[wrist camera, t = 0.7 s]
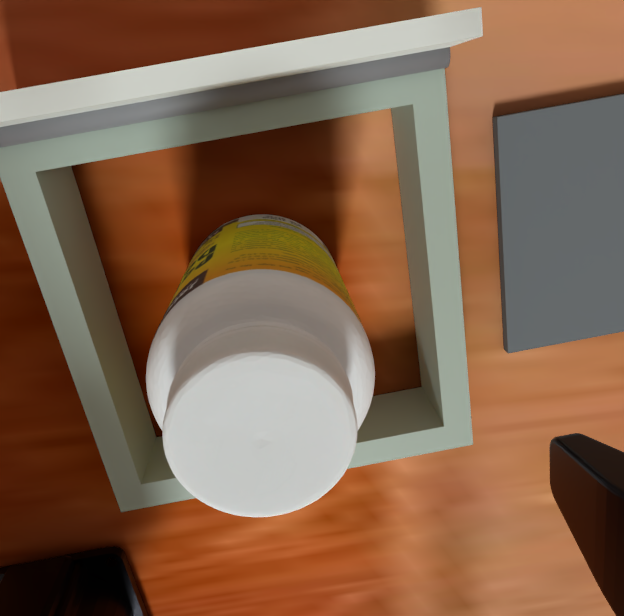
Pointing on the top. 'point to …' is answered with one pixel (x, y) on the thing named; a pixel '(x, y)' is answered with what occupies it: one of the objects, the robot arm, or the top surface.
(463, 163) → the top surface
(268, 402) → the supplement bottle
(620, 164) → the mat
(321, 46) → the drawer
